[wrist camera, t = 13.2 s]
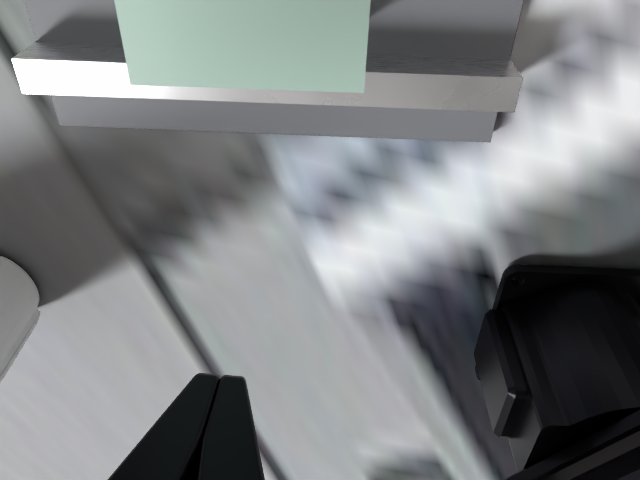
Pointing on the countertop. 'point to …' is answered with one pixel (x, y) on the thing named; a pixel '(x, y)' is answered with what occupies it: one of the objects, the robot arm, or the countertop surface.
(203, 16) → the green module
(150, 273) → the countertop surface
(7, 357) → the photo printer
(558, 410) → the robot arm
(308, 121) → the mounting board
